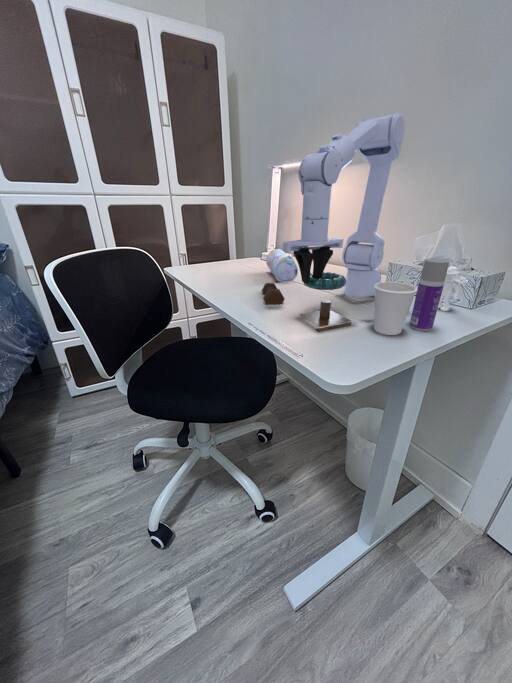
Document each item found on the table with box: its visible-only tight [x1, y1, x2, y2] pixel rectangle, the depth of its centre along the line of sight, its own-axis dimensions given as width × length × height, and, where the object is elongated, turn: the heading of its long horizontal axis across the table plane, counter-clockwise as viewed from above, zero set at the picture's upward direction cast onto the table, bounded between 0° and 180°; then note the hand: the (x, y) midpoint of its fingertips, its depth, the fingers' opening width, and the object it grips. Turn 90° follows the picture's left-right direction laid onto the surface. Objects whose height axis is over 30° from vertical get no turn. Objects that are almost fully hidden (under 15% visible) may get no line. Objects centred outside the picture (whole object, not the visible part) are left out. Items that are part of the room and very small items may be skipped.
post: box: [298, 299, 352, 333], centre depth 69 cm, size 9×9×5 cm
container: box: [408, 258, 450, 332], centre depth 63 cm, size 5×5×15 cm
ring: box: [302, 271, 346, 291], centre depth 70 cm, size 10×10×2 cm
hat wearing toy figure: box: [438, 263, 469, 312], centre depth 76 cm, size 9×4×12 cm, turn 20°
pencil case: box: [265, 248, 299, 283], centre depth 111 cm, size 21×9×10 cm, turn 7°
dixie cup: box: [373, 281, 418, 336], centre depth 63 cm, size 8×8×10 cm
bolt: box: [261, 282, 285, 306], centre depth 85 cm, size 6×5×15 cm
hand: (311, 281), depth 68 cm, fingers closed on ring, 2 cm apart
